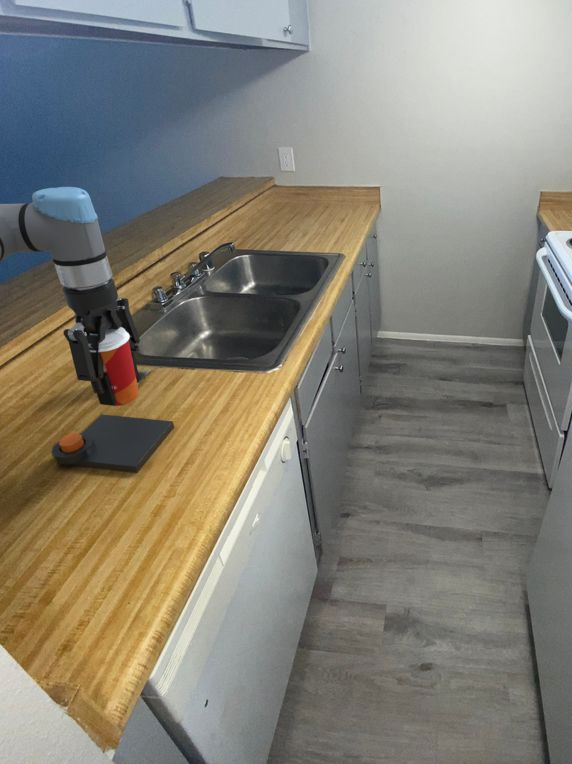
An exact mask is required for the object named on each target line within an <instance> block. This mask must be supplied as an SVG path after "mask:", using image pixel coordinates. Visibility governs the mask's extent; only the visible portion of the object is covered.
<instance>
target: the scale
mask: <svg viewBox="0 0 572 764" xmlns="http://www.w3.org/2000/svg"><path fill="white" fill-rule="evenodd" d="M173 421H174V420H162V419H155V418H154V419H153V418H142V417H134V416H133V417H131V416H122V415H113V414H112V415H111V414H102V413H101V414H100V415H99V416H98V417H97V418H96V419H95V420H93V422H92V423H90V424H89V425H88V426H87V427H86V428H85V429H84V431H82V432H78V433H79V434H81V435H82V438H83V441H84V445H83V446H82V447H81V448H80V449H78V450H76V451H74V452H70V453H64V452H63V451H62V449H61V447H60V444H59V442H60V440H59V441H57V443H55V444H54V445H53V446H52V450H51V455H52V457H53V460H54V461H55V462H56V463H57V465H59V466H68V467H78V468H86V469H96V470H103V471H104V470H105V471H106V470H107V471H115V472H124V473H132V474H138V473H139V472H140V471H141V470H142V469H143V467H144V466H145V465H146V464H147V463H148V461H149V460H150V458H151V457H152V456H153V455H154V454H155V452H156V451H157V450H158V448H159V447H160V446H161V445H162V443H163V442H164V441H165V440H166V438H167V437H168V436H169V435H170V433H171V432H172V431H173V430H174V428H175V424H174V422H173Z"/></svg>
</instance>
